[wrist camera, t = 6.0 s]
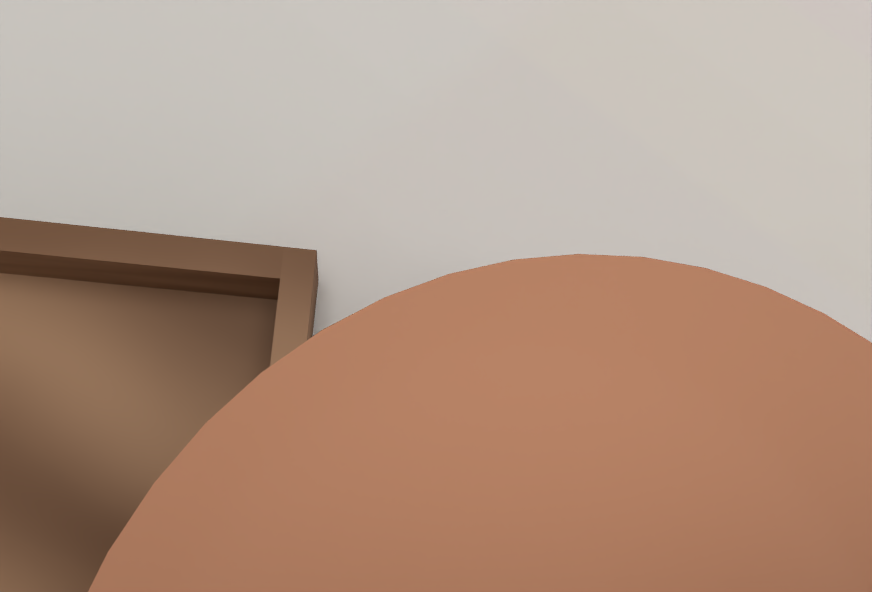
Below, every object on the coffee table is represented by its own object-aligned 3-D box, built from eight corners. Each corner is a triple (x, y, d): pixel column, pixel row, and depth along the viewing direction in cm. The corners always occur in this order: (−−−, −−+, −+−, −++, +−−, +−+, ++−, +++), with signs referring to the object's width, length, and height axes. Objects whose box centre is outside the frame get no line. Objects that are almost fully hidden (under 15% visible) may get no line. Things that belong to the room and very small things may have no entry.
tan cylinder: (455, 677, 15) (1064, 1748, 2) (238, 601, 14) (-251, 1374, 2) (524, 457, 16) (1207, 457, 3) (322, 383, 15) (293, 106, 3)
